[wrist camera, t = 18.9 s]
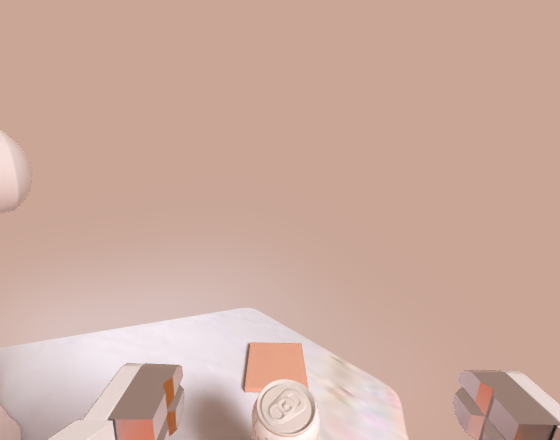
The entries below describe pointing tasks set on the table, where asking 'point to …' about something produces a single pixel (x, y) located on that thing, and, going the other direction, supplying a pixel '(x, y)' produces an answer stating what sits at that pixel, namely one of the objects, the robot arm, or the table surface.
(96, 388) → the table surface
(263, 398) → the beer can
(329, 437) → the table surface
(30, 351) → the table surface
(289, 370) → the tile
